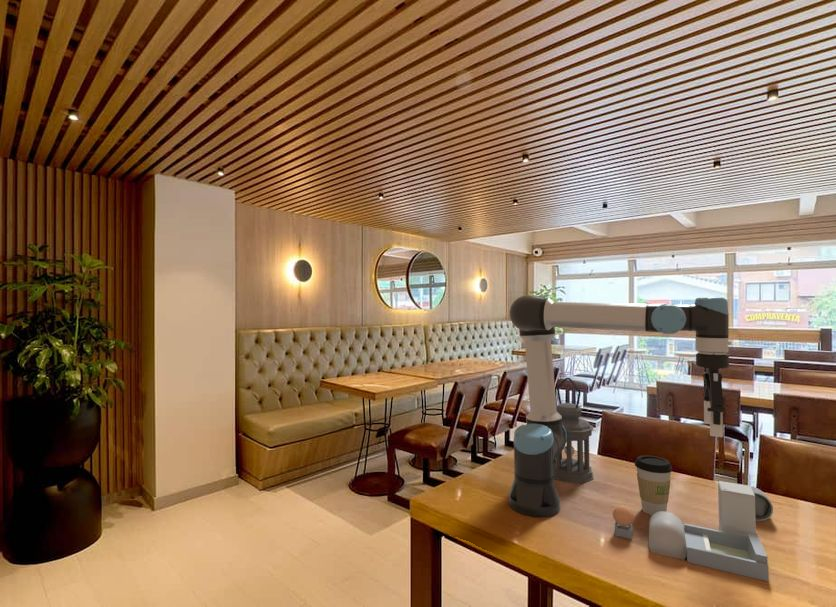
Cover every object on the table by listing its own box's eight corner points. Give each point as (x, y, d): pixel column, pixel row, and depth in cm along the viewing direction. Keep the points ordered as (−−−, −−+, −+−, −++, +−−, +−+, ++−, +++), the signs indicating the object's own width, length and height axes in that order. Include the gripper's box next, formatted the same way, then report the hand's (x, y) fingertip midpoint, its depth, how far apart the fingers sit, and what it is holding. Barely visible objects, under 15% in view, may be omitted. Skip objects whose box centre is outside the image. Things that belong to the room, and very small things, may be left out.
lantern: (536, 473, 154) (535, 377, 154) (559, 462, 165) (558, 372, 166) (581, 487, 141) (579, 383, 142) (602, 473, 153) (601, 377, 153)
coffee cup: (679, 520, 118) (678, 467, 119) (641, 517, 120) (640, 465, 121) (666, 505, 128) (665, 455, 128) (631, 502, 130) (630, 453, 130)
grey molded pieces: (613, 551, 107) (612, 520, 107) (617, 529, 118) (616, 500, 118) (768, 591, 92) (768, 554, 92) (757, 560, 103) (756, 527, 103)
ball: (612, 527, 111) (611, 508, 111) (613, 518, 115) (613, 500, 115) (633, 531, 108) (633, 512, 108) (634, 523, 113) (633, 504, 113)
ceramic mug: (767, 511, 123) (766, 485, 124) (774, 524, 116) (772, 496, 116) (723, 504, 129) (721, 479, 129) (726, 515, 121) (725, 488, 122)
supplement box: (756, 546, 105) (755, 495, 106) (720, 538, 109) (719, 489, 110) (752, 533, 112) (751, 485, 112) (718, 525, 116) (717, 479, 116)
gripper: (737, 358, 104) (738, 444, 103) (721, 349, 126) (722, 420, 125) (700, 356, 107) (701, 440, 107) (692, 348, 129) (692, 417, 129)
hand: (712, 429), depth 116 cm, fingers open, 13 cm apart
